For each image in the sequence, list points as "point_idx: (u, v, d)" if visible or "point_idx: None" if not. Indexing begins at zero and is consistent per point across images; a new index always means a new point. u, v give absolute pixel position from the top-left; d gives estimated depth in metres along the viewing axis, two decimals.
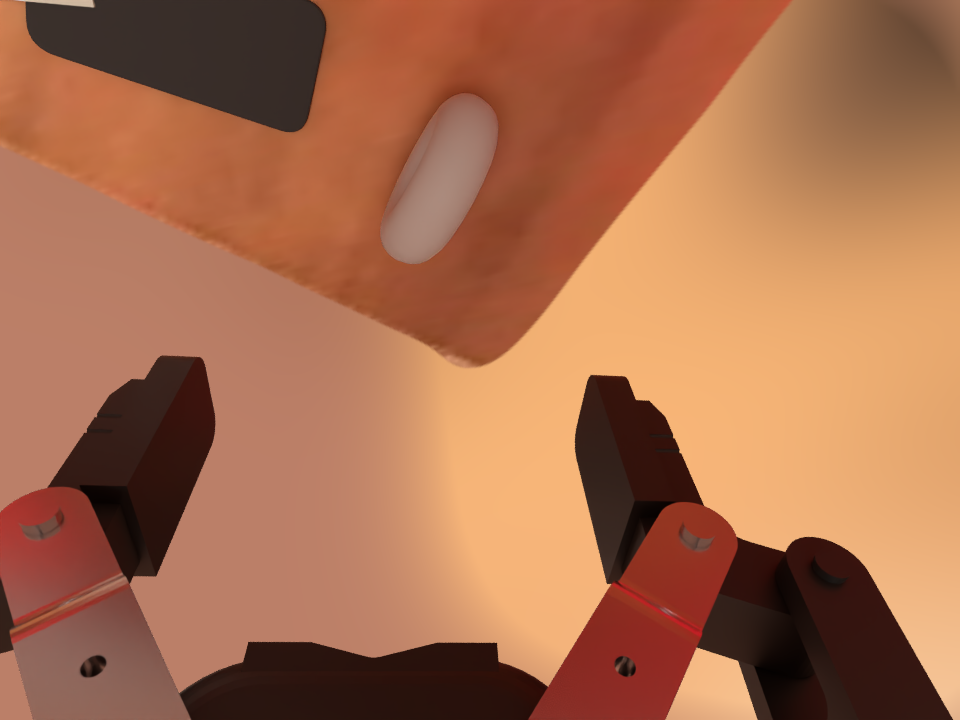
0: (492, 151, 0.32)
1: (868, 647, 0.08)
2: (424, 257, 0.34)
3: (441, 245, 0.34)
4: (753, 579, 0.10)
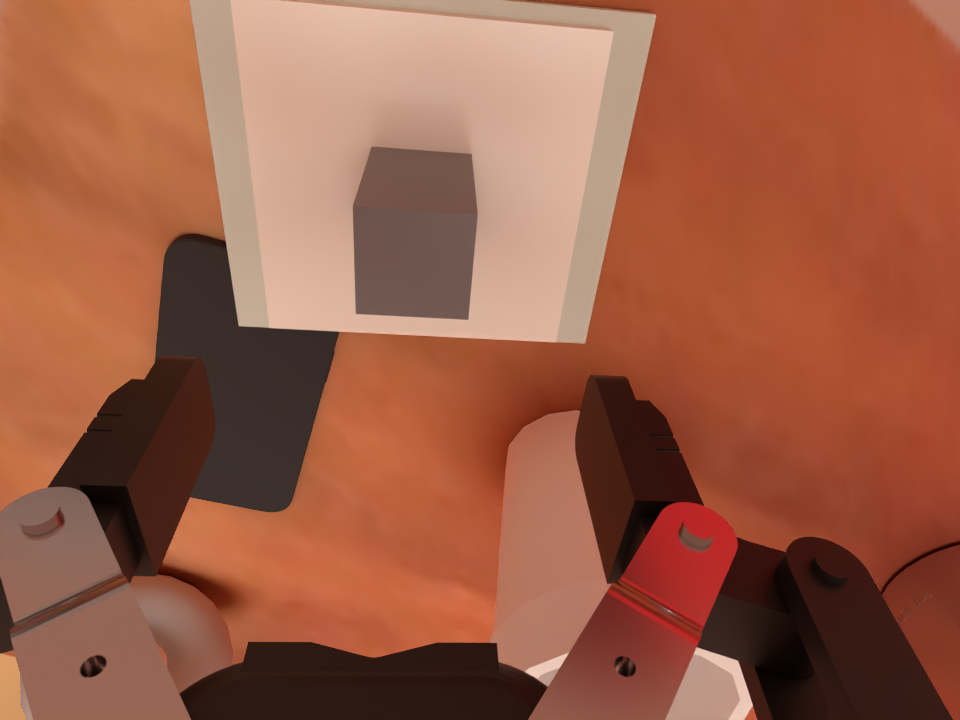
0: None
1: (868, 647, 0.08)
2: None
3: None
4: (753, 579, 0.10)
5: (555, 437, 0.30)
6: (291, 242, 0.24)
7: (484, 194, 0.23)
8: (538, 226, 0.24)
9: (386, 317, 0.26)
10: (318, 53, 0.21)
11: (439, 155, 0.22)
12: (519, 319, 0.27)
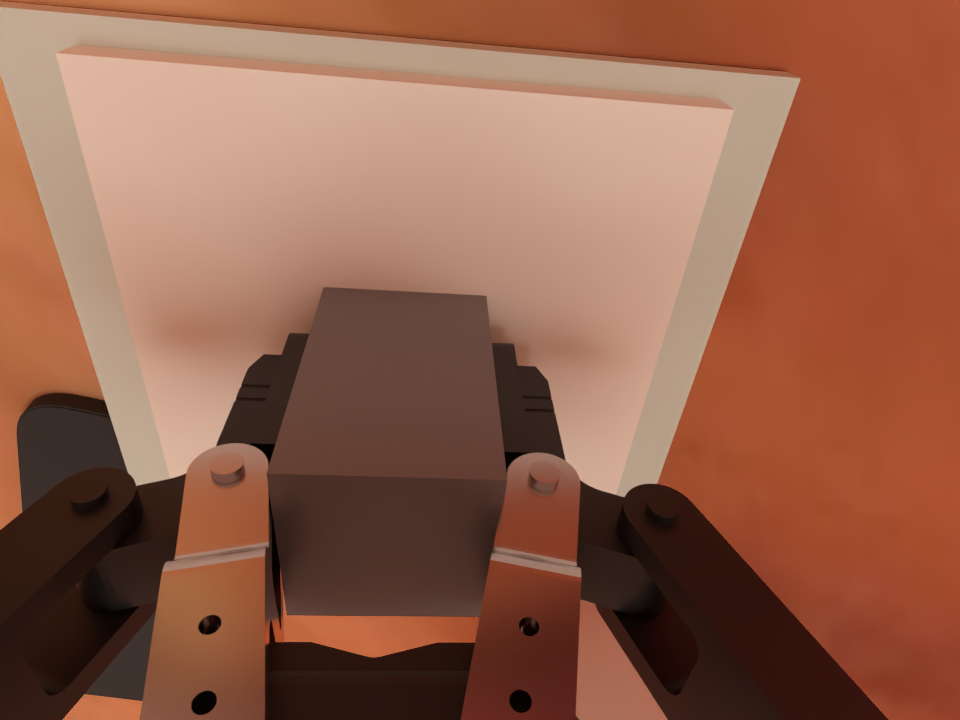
0: None
1: (712, 573, 0.09)
2: None
3: None
4: (596, 522, 0.10)
5: (597, 643, 0.21)
6: (205, 417, 0.16)
7: None
8: (588, 392, 0.16)
9: None
10: (224, 147, 0.12)
11: (434, 305, 0.13)
12: None
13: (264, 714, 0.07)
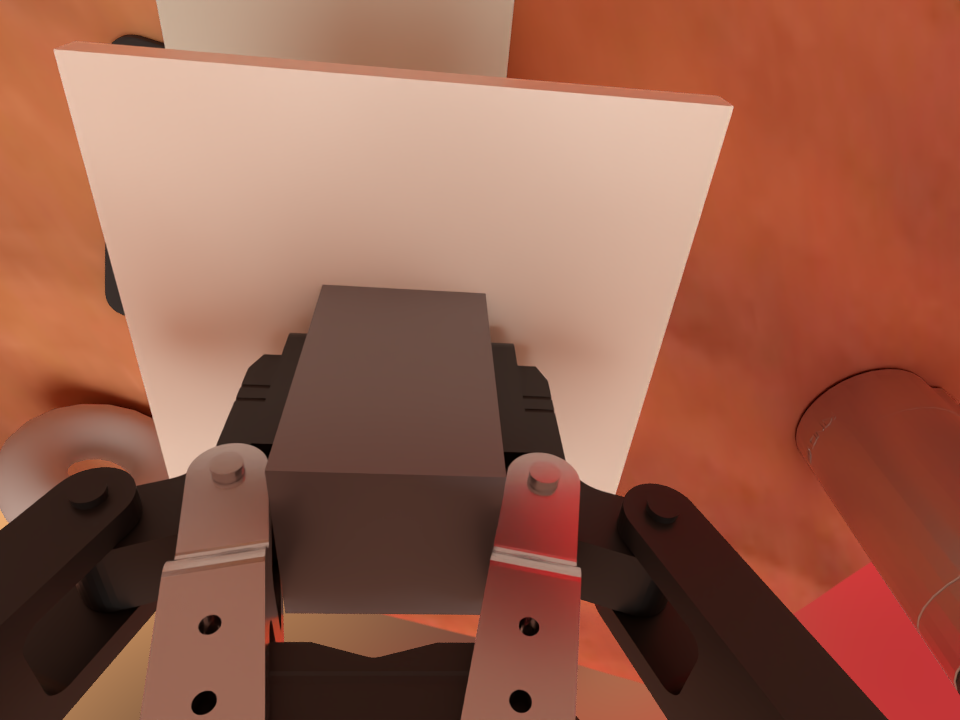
0: None
1: (712, 573, 0.09)
2: None
3: None
4: (596, 522, 0.10)
5: None
6: (204, 415, 0.16)
7: None
8: (588, 390, 0.16)
9: None
10: (223, 144, 0.12)
11: (432, 301, 0.13)
12: None
13: (264, 714, 0.07)
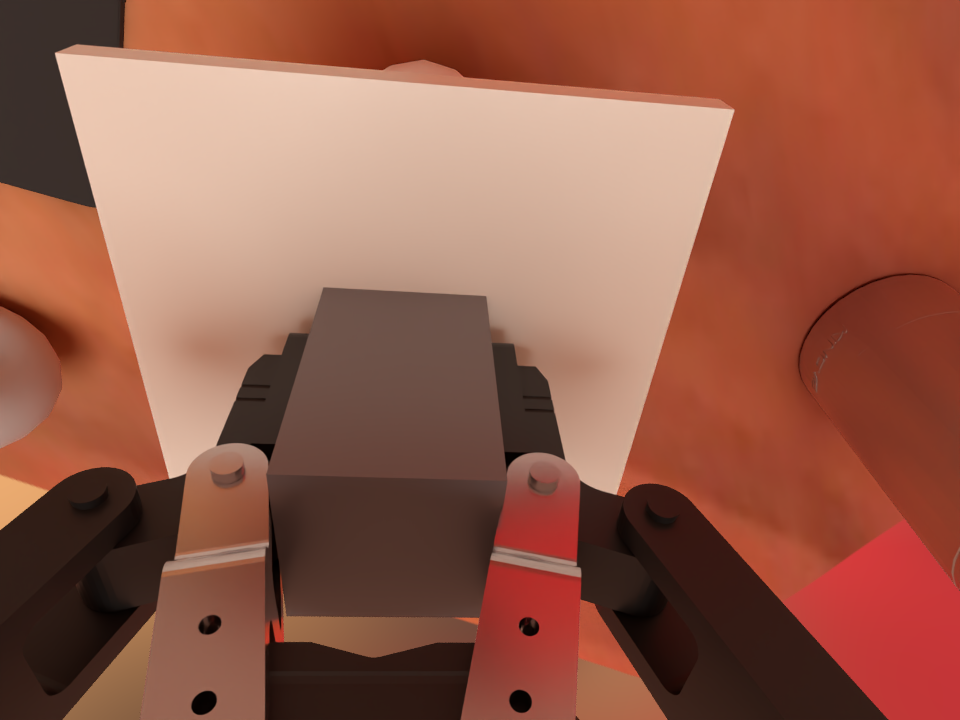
0: None
1: (712, 573, 0.09)
2: None
3: None
4: (596, 522, 0.10)
5: (390, 68, 0.26)
6: (204, 418, 0.16)
7: None
8: (588, 392, 0.16)
9: None
10: (224, 147, 0.12)
11: (433, 304, 0.13)
12: None
13: (264, 714, 0.07)
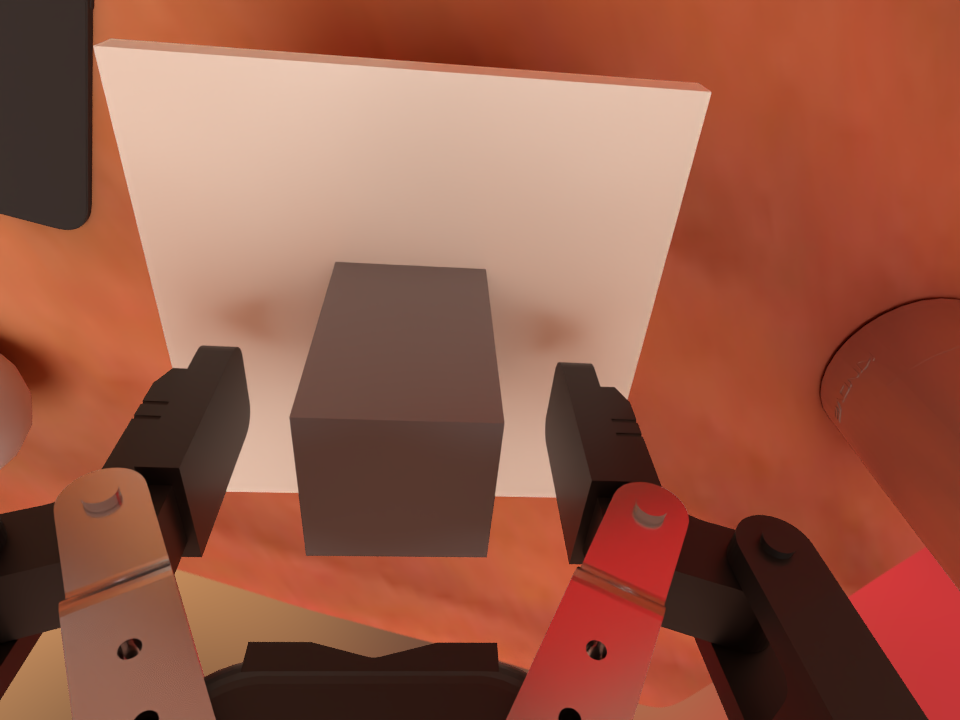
0: None
1: (819, 618, 0.09)
2: None
3: None
4: (704, 556, 0.10)
5: None
6: None
7: (504, 322, 0.16)
8: (582, 361, 0.17)
9: None
10: (244, 131, 0.13)
11: (437, 276, 0.15)
12: (551, 473, 0.19)
13: (213, 714, 0.07)
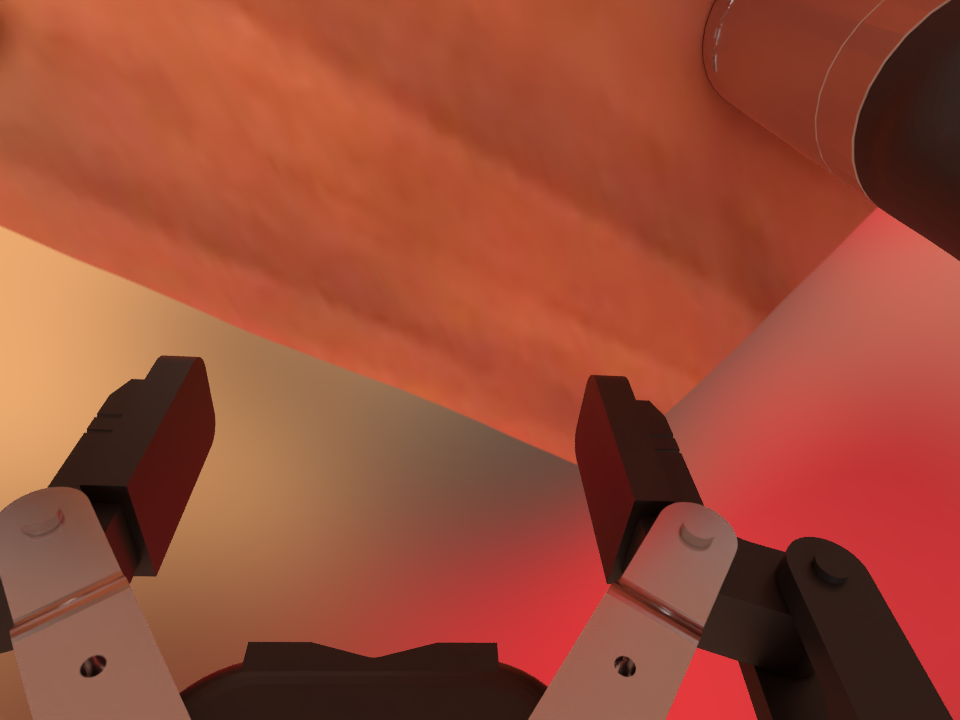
0: None
1: (868, 647, 0.08)
2: None
3: None
4: (753, 579, 0.10)
5: None
6: None
7: None
8: None
9: None
10: None
11: None
12: None
13: None
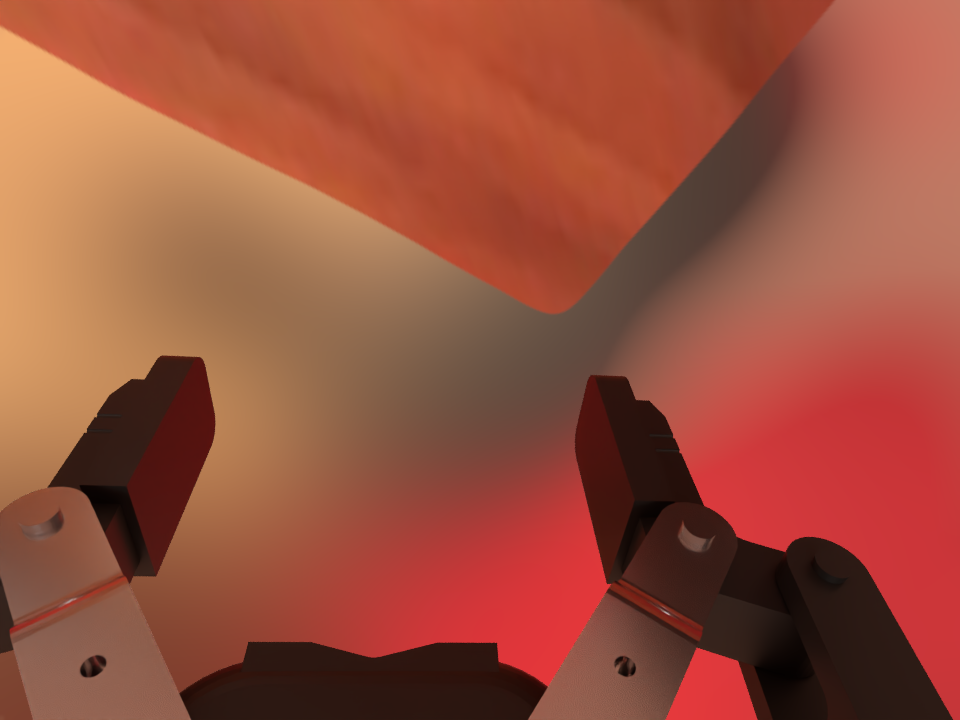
0: None
1: (868, 647, 0.08)
2: None
3: None
4: (753, 579, 0.10)
5: None
6: None
7: None
8: None
9: None
10: None
11: None
12: None
13: None
